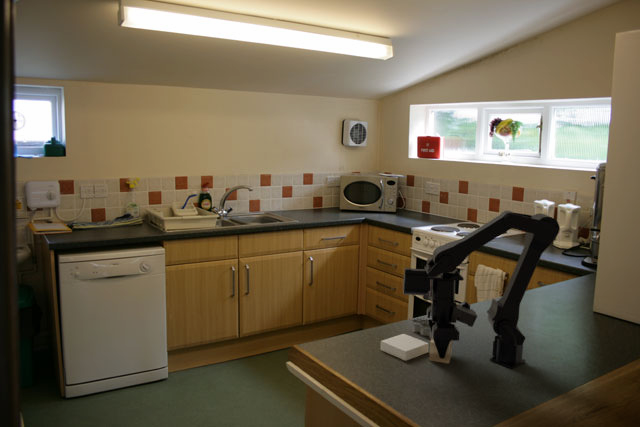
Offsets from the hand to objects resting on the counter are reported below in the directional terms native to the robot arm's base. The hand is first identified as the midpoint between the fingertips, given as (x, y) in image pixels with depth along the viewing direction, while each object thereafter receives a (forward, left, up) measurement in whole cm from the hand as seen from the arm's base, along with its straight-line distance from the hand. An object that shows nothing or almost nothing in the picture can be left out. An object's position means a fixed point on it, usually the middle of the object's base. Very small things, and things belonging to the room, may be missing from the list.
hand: (440, 353), depth 139 cm
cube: (0, 0, -1) cm, 1 cm away
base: (+9, +4, -1) cm, 10 cm away
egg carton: (+14, -12, -2) cm, 19 cm away
